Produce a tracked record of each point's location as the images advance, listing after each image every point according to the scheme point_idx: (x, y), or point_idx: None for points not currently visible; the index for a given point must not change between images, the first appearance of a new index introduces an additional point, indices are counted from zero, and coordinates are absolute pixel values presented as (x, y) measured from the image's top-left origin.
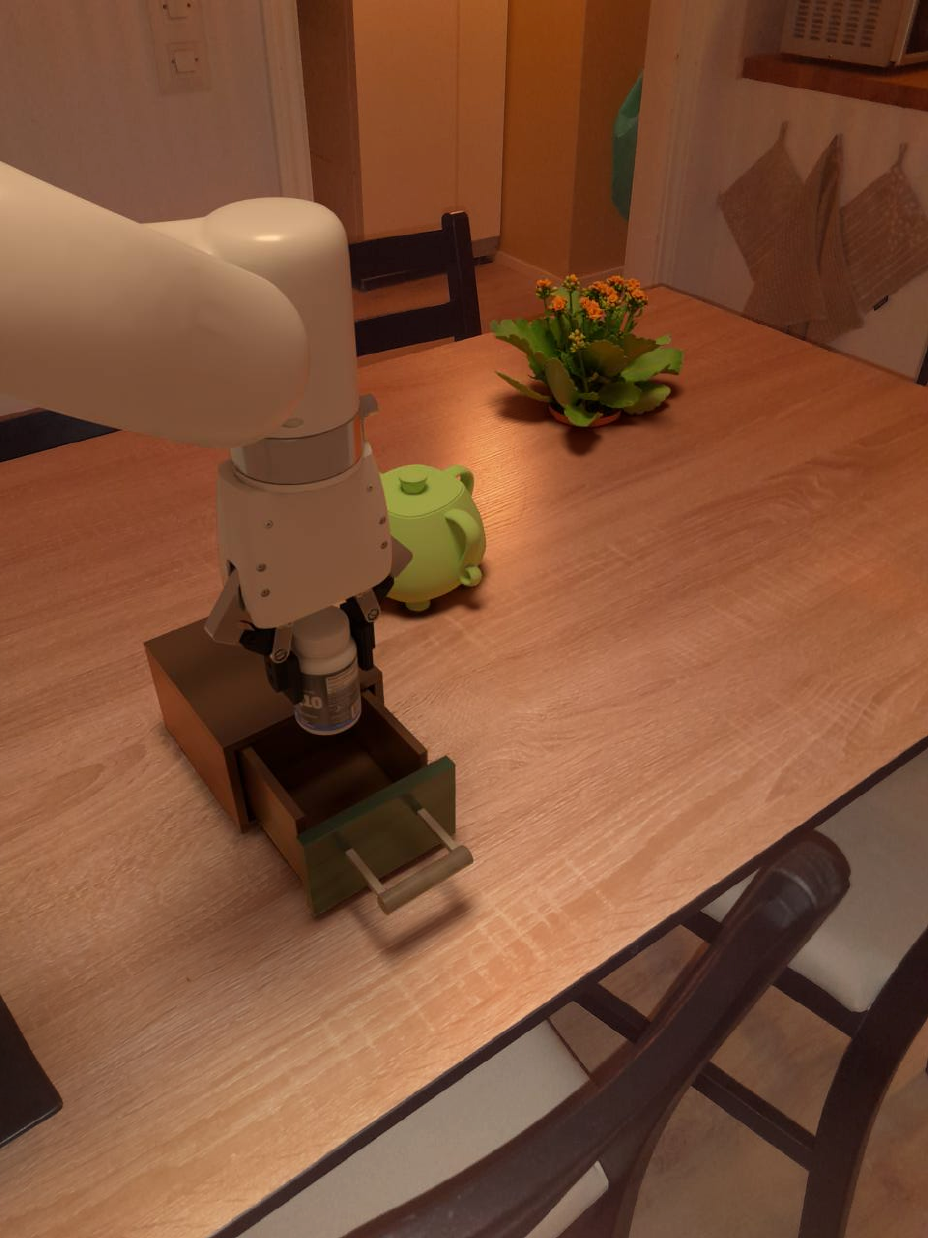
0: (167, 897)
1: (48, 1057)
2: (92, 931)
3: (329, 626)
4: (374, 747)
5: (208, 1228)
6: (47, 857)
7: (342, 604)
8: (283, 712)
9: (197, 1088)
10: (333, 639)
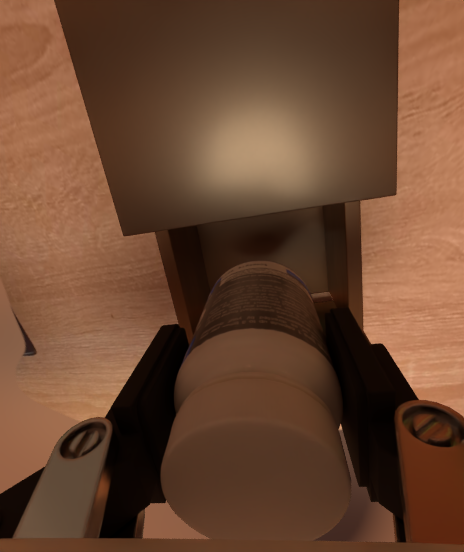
0: (104, 244)
1: (25, 323)
2: (47, 247)
3: (274, 521)
4: (327, 214)
5: None
6: (4, 149)
7: (378, 397)
8: (217, 209)
9: (109, 379)
10: None
